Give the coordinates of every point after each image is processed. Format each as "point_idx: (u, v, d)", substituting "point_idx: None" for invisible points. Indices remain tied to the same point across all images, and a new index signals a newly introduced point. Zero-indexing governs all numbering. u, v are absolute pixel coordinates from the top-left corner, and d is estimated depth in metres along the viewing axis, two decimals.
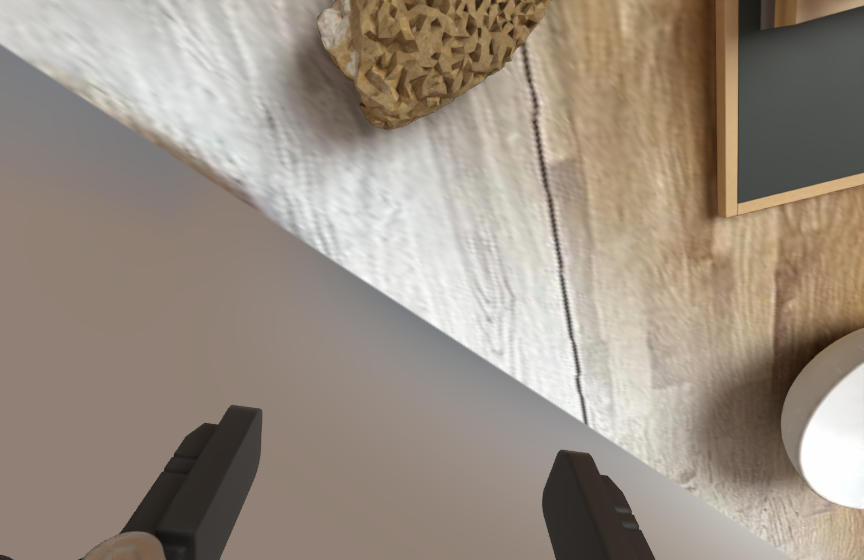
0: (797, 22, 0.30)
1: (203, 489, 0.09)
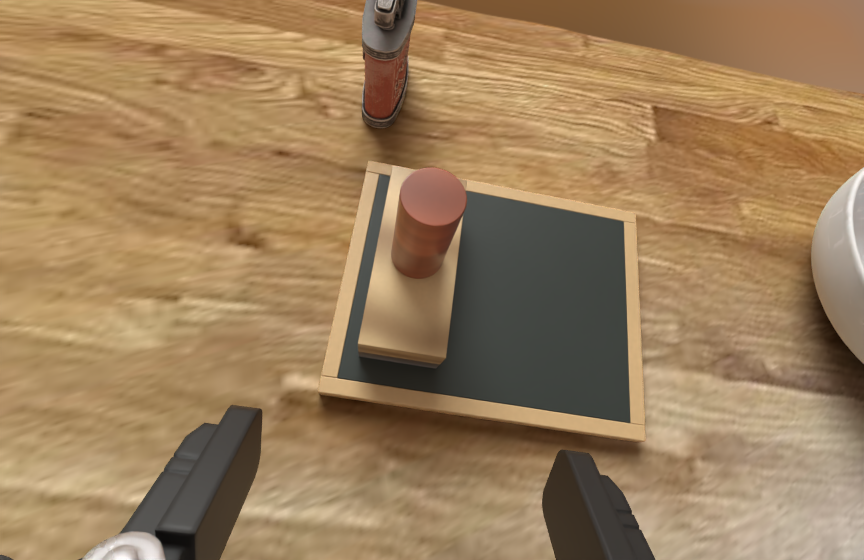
0: (444, 356, 0.26)
1: (203, 489, 0.09)
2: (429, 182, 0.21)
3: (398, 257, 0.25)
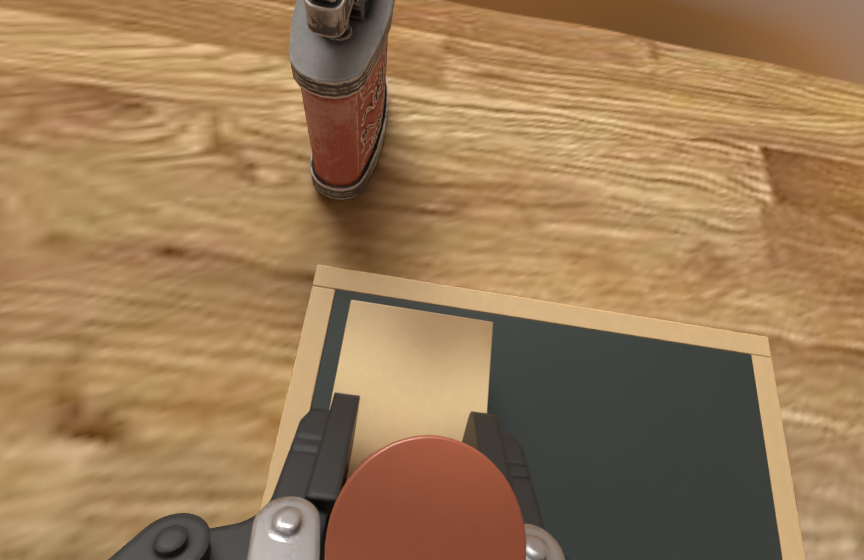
0: None
1: (334, 463, 0.10)
2: (415, 493, 0.07)
3: None
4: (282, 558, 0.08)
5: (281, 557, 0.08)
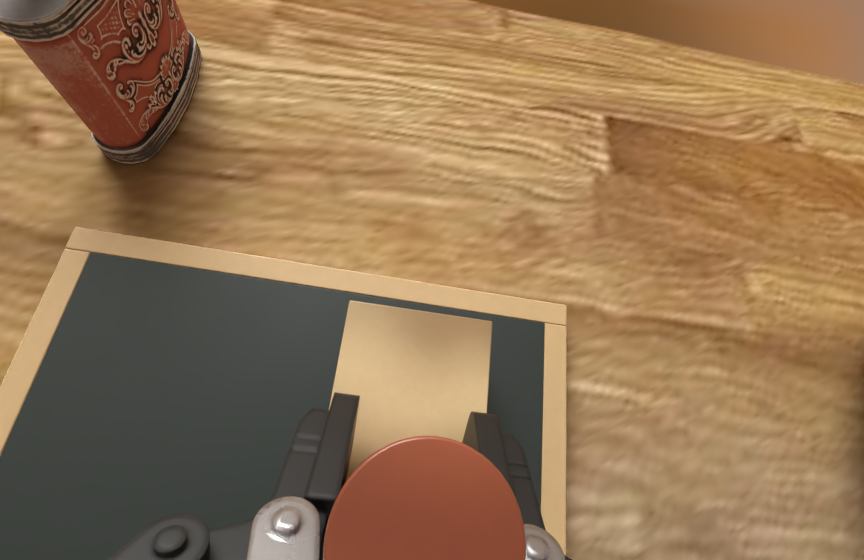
0: None
1: (334, 463, 0.10)
2: (414, 494, 0.07)
3: None
4: (281, 558, 0.08)
5: (281, 557, 0.08)
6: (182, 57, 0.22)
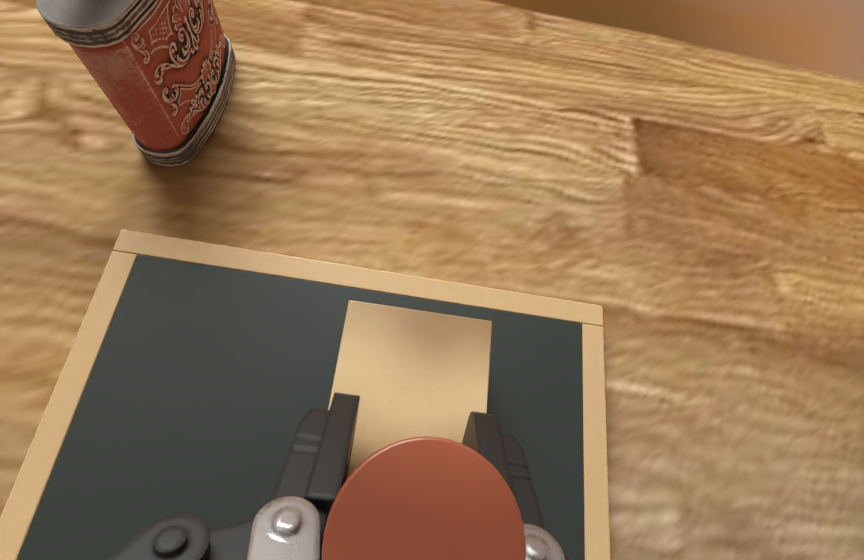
0: None
1: (334, 463, 0.10)
2: (413, 495, 0.07)
3: None
4: (282, 558, 0.08)
5: (281, 557, 0.08)
6: (219, 60, 0.22)
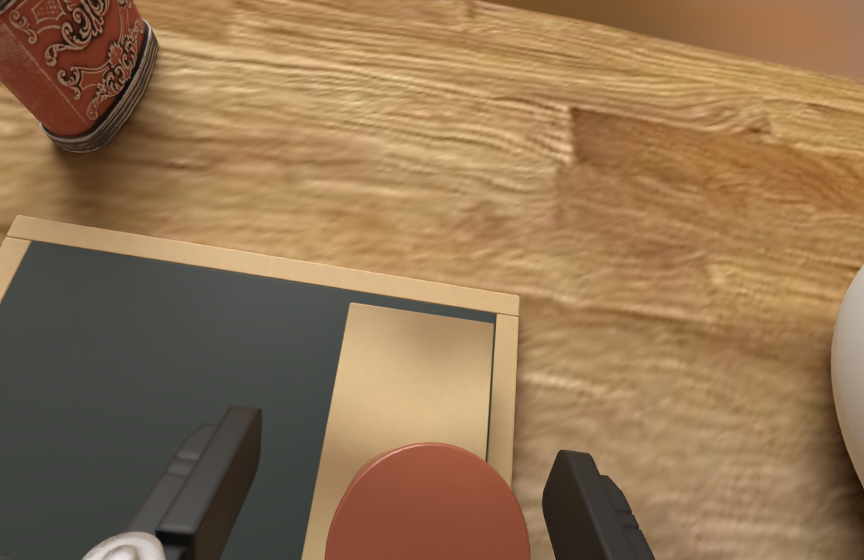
0: None
1: (203, 489, 0.09)
2: (417, 502, 0.07)
3: None
4: None
5: None
6: (135, 45, 0.22)
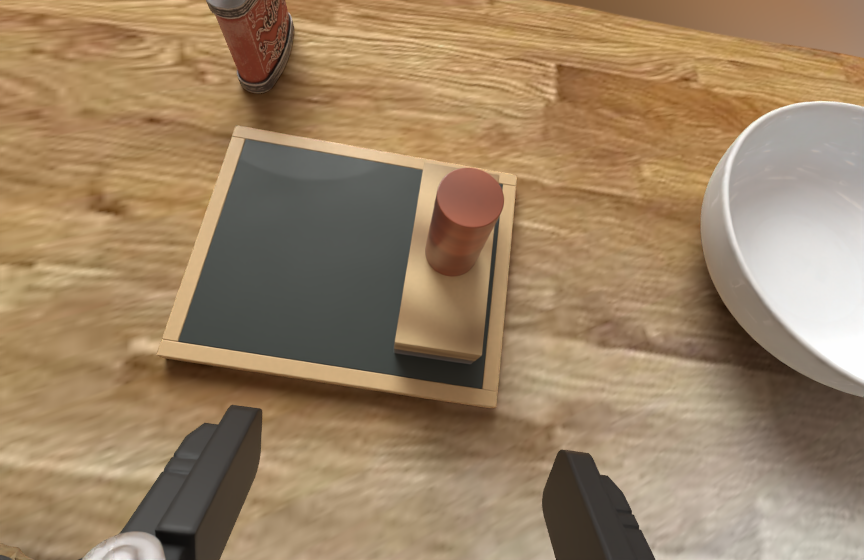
0: (480, 353, 0.26)
1: (203, 489, 0.09)
2: (466, 183, 0.21)
3: (432, 255, 0.26)
4: None
5: None
6: (286, 28, 0.36)
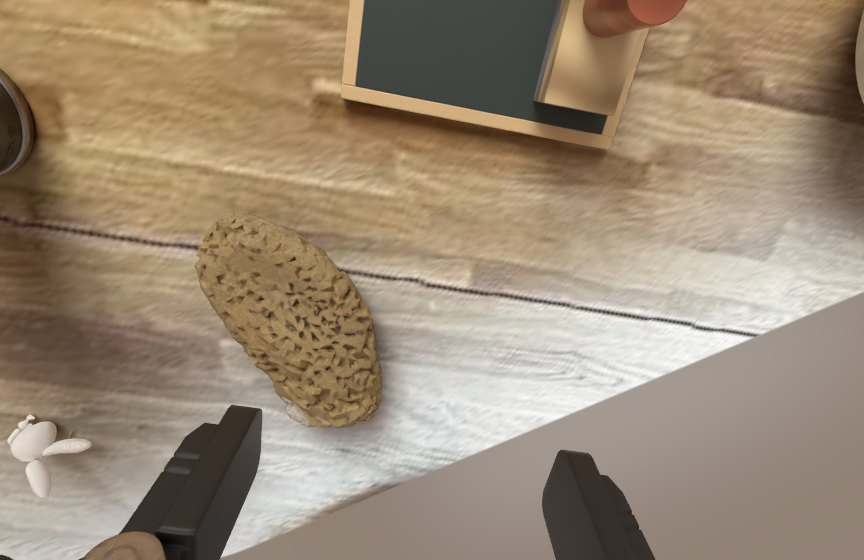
0: (613, 114, 0.31)
1: (203, 489, 0.09)
2: None
3: (594, 22, 0.27)
4: None
5: None
6: None
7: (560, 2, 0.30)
